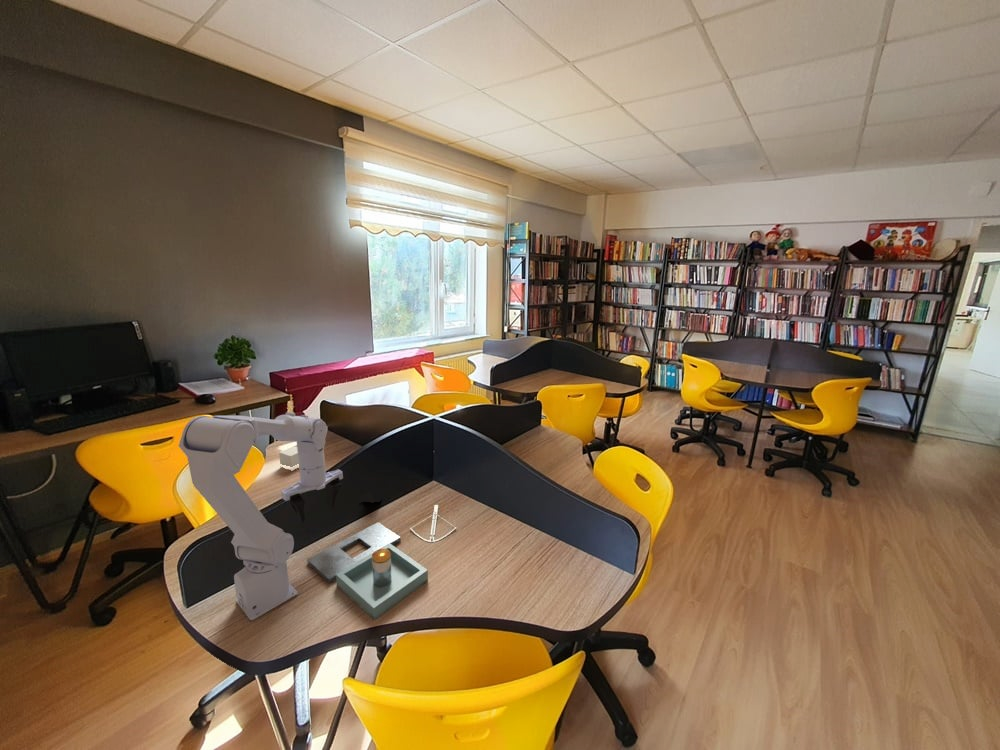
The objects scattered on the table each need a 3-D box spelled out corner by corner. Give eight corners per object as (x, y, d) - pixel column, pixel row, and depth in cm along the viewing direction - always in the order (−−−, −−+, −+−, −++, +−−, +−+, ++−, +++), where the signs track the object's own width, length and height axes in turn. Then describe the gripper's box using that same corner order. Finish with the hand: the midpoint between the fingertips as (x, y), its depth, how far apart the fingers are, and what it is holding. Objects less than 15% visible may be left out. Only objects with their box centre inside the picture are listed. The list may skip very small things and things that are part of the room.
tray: (374, 620, 83) (373, 608, 82) (336, 585, 91) (335, 574, 91) (427, 580, 94) (427, 569, 93) (389, 553, 102) (389, 543, 102)
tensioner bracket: (329, 583, 92) (328, 579, 92) (307, 563, 98) (307, 559, 98) (400, 541, 107) (400, 537, 107) (378, 525, 113) (377, 522, 113)
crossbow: (455, 546, 108) (455, 539, 108) (407, 547, 107) (407, 540, 107) (457, 508, 123) (457, 503, 123) (415, 509, 122) (415, 503, 122)
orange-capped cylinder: (379, 590, 90) (378, 563, 88) (369, 581, 92) (368, 554, 91) (395, 580, 93) (394, 554, 91) (384, 571, 95) (383, 546, 94)
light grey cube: (292, 471, 141) (290, 456, 140) (280, 467, 144) (278, 452, 142) (306, 464, 147) (305, 449, 145) (295, 461, 149) (294, 446, 148)
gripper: (289, 481, 91) (294, 533, 94) (348, 459, 102) (351, 507, 105) (275, 470, 95) (280, 521, 98) (333, 451, 106) (336, 497, 109)
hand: (316, 513), depth 102 cm, fingers open, 7 cm apart
